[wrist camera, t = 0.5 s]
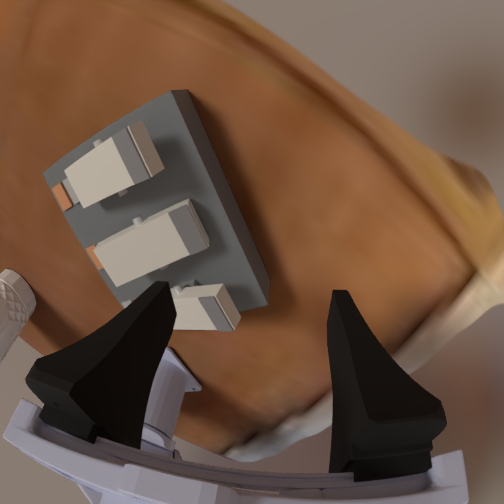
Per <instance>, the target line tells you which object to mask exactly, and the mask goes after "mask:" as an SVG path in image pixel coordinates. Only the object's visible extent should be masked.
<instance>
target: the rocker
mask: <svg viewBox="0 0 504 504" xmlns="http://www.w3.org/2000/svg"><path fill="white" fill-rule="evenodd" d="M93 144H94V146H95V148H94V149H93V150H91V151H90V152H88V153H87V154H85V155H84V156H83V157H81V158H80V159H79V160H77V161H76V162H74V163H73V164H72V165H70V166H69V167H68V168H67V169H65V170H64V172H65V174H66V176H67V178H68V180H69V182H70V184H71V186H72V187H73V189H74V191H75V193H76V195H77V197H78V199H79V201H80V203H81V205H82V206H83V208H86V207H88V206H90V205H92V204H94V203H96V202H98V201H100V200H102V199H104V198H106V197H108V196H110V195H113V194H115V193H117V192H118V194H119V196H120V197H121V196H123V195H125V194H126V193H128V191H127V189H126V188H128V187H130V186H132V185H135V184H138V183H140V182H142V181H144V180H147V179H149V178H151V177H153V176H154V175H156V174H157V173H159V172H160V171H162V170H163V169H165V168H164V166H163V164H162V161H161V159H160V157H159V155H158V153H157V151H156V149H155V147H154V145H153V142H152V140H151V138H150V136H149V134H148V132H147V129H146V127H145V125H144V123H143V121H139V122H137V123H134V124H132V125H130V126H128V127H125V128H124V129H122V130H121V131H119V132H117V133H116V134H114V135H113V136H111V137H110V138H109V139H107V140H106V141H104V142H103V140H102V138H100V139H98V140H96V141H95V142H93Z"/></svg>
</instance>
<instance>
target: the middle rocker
mask: <svg viewBox="0 0 504 504" xmlns="http://www.w3.org/2000/svg"><path fill="white" fill-rule="evenodd" d="M132 221H133V222H134V225H132V226H130V227H128V228H126V229H124V230H122V231H120V232H118V233H116V234H114V235H112V236H110V237H109V238H107V239H105V240H103V241H101V242H99V243H98V244H97V246H96V247H95V248H94V250H93V251H94V253H95V255H96V256H97V258H98V259H99V261H100V263H101V264H102V266H103V267H104V269H105V270H106V272H107V273H108V275H109V277H110V278H111V280H112V281H113V283H114V284H115V286H116V287H118V286H120V285H123V284H125V283H127V282H129V281H131V280H134V279H136V278H138V277H140V276H143V275H145V274H147V273H149V272H152V271H154V270H156V269H158V268H160V269H161V270H163V269H165V268H166V267H167V266H168V264H170V263H172V262H174V261H177V260H179V259H181V258H184V257H186V256H188V255H190V256H191V255H193V254H195V253H198V252H200V251H202V250H204V249H207V248H208V247H209V237H208V235H207V233H206V231H205V229H204V227H203V225H202V223H201V221H200V219H199V217H198V215H197V213H196V211H195V209H194V207H193V205H192V203H191V201H190V199H189V198H188V199H186V200H184V201H182V202H179V203H177V204H175V205H173V206H171V207H169V208H167V209H164V210H162V211H160V212H158V213H156V214H154V215H152V216H150V217H148V218H146V219H144V220H143V219H142V217H141V215H139V216H137V217H135V218H134V219H133V220H132Z"/></svg>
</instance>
